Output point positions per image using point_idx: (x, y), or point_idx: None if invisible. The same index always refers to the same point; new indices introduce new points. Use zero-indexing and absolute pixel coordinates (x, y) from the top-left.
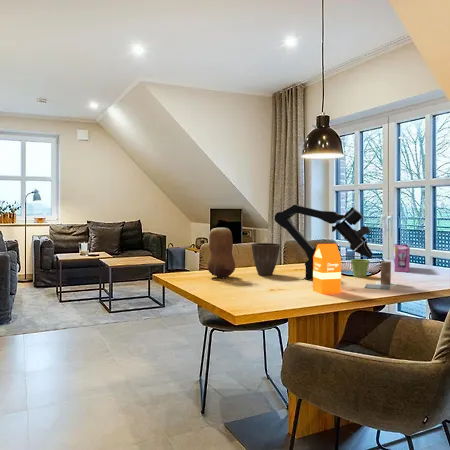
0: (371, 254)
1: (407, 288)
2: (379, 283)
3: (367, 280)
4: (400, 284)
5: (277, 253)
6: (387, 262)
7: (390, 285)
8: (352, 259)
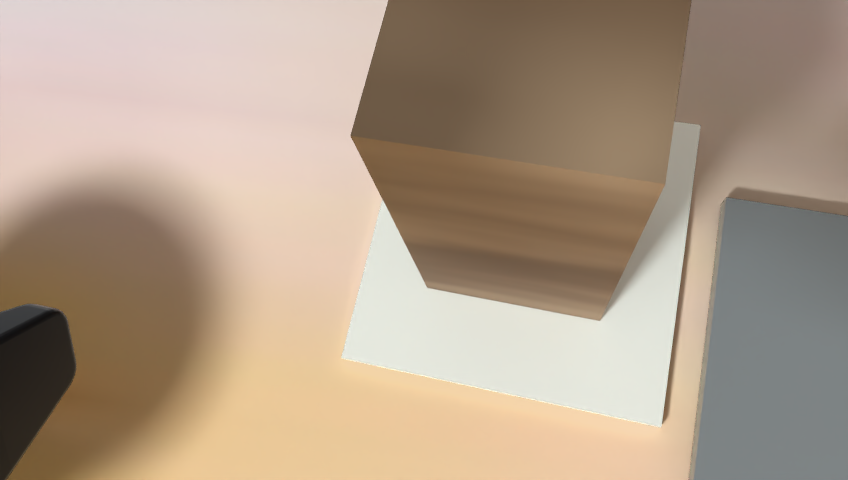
0: (33, 372)
1: (778, 4)
2: (511, 327)
3: (169, 472)
4: None
5: None
6: (619, 23)
7: None
8: None
